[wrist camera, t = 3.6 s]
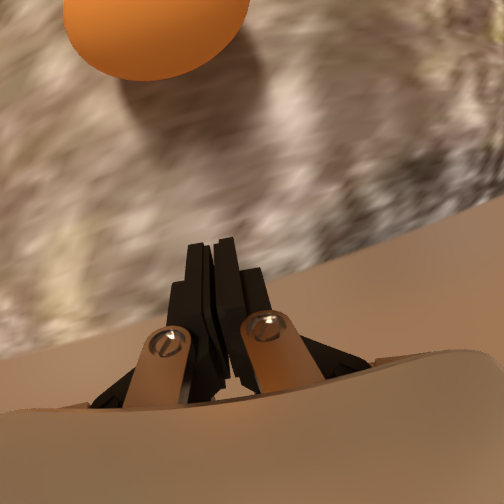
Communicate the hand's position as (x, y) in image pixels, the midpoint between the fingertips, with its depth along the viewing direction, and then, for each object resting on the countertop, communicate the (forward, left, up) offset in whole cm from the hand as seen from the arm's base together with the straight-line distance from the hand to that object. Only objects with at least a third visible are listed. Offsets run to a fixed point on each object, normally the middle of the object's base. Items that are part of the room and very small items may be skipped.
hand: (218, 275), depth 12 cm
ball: (0, +10, -1) cm, 10 cm away
